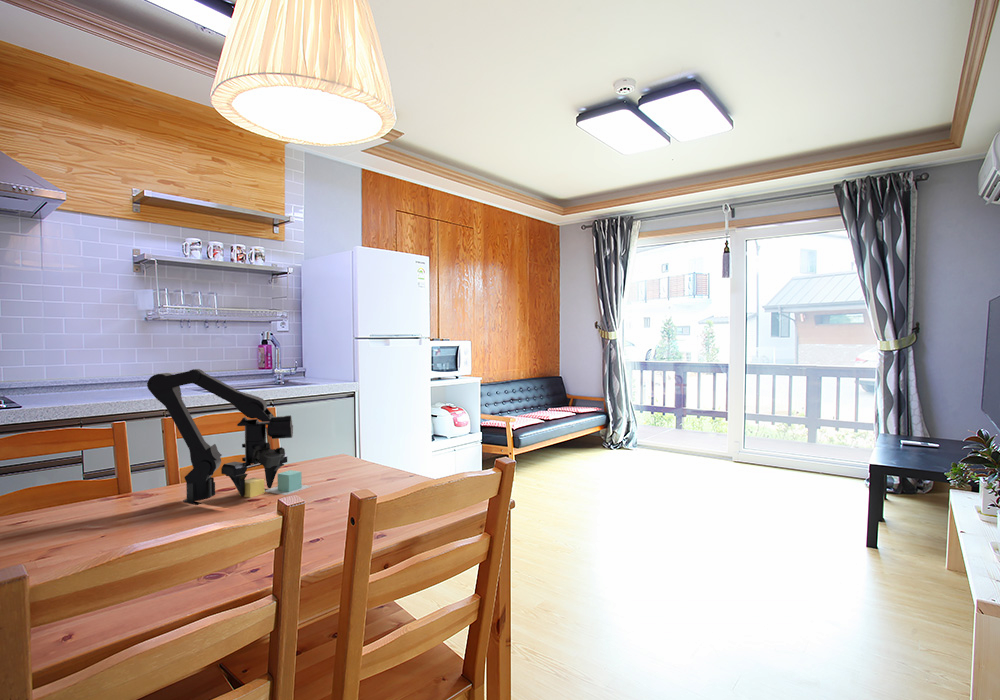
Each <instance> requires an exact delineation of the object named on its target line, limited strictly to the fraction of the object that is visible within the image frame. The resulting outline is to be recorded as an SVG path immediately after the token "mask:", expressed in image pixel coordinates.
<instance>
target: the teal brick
mask: <svg viewBox="0 0 1000 700" xmlns="http://www.w3.org/2000/svg"><path fill="white" fill-rule="evenodd" d="M302 485H303V482H302V471H299V470H291V469H289V470H286V471H283V472H280V473H277V486H278V490H280V491H286V492H291V491H294V490H297V489H300V488H302Z"/></svg>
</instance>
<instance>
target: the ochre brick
mask: <svg viewBox="0 0 1000 700" xmlns="http://www.w3.org/2000/svg"><path fill="white" fill-rule="evenodd" d="M265 490H266V489H265V479H264V478H257V477H251V478H247V479H245V495H244V496H243V497H244V498H254V497H256V496H260V495H263V494H265ZM238 493H239V492H238ZM239 496H240V497H242V496H241V495H240V493H239Z"/></svg>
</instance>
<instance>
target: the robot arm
mask: <svg viewBox="0 0 1000 700" xmlns="http://www.w3.org/2000/svg"><path fill="white" fill-rule="evenodd" d="M189 384H194V385H196V386H198V387H200V389H203V390H206V392H207V391H208V392H209V393H211V394H213V395H214V396H216V397H218V398H220V399H222V400H225V401H226V402H228V403H230V404H231V405H232V406H233V407H234V408H235V409H237V411H238V412H240V413H241V414H242V415H244V417H242V419H241V420H240V421H239V422H238V423H236V426H237V427H244V443H242V444H241V448H244V456H243V457H242V458H241V460H242V462H241V461H231V462H227V463H223V464H222V455H223V454H221V452H219V450H218V447H217V445H216V444H215V443H213V444H212V445H210V444H209V443H208V442H206V440H205V439H204V437H203V435H202V433H201V431H200V429H199V428H198V426H197V425H196V423H195V421H194V419H193V417H192V415H191V413H190V411H189V409H188V408H187V406H186V403H185V402H184V400H183V399H182V390H181V387H182V386H185V385H189ZM146 387H147V390H148V391H150V392H149V393H151V394H152V396H153V397H155V399H156V400H157V401H158V402H159V403H160V404H162V405H163V406H164V408H165V409H166V410H167V412H168V414H169V416H170V417H171V419H172V421H173V423H174V424H175V427H176V428H177V431H178V432H179V434H180V436H181V438H182V439H183V441H184V442H185V444H186V446H187V448H188V450H189V457H190V462H191V465H192V469H190V471H189V472H188V473H186V475H185V476H184V480H185V483H186V499H184V500H183V501H182V502H183V503H187V504H191V505H195V506H197V505H202V502H200V501H203V500H204V501H205V500H209V499H210V498H212V497H214V496H215V495H216V482H215V480H214V479H215V477H212V476H214V473H215V472H216V471H217V470H218V469H219V468H220V466H221V464H222V466H221V469H220V470H221V473H220V474H221V475H225V476H226V477H228V478H230V481H232V483H233V484H234V485H235V487H236V489H237V492H238V493H240V495H241V496H240V497H245V496H244V495H245V480H246V478H247V476H249V475H248V473H246V472H247V470H248V469H251V468H255V467H259V466H260V467H261V466H263V468H264V473H265V475H264V476H265V482H266V486H267V489H270V488H273V487H272V486H273V483H274V481H275V478H276V475H277V474H278V473H277V472H278V470H279V469H281V467H284V465H285V464H287V463H288V456H287V454H286V452H285V451H286V450H285V448H283V447H277V448H276V449H275V448H273V449H272V448H271V444H270V442H267V437H269V438H271V440H277V439H280V440H281V439H292V438H293V437H294V435H293V434H294V425H293V420H292V415H282V416H275V415H274V414H273V413H272V412H271V410H269V409H268V405H267V401H266V400H265V399H264V398H262V397H259V396H256V395H254V394H250V393H245V392H243V391H240V390H238V389H236V388H234V387H233V386H230V385H228V384H226V383H225V382H223V381H221V380H219V379H217V378H215V377H214V376H212V375H210V374H208V373H206V372H204V370H202V369H200V368H195V369H194V368H193V369H191V370H188V371H183V372H179V373H174V374H173V373H169V372H164V373H156V374H153V375H152V376H150V377H149V379H148V381H147V382H146Z"/></svg>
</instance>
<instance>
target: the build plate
mask: <svg viewBox="0 0 1000 700" xmlns="http://www.w3.org/2000/svg"><path fill="white" fill-rule="evenodd" d="M311 487H312V486H311V485H305V484H302V488H300V489H297V490H294V491H291V492H286V491H280V490H278V485H277V486H274V487H271V488H267V489H265V492H266V493H269V494H270V493H271V494H278V495H283V496H287V495H291V494H293V493H297V492H300V491H302V490H306V489H308V488H311Z"/></svg>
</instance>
